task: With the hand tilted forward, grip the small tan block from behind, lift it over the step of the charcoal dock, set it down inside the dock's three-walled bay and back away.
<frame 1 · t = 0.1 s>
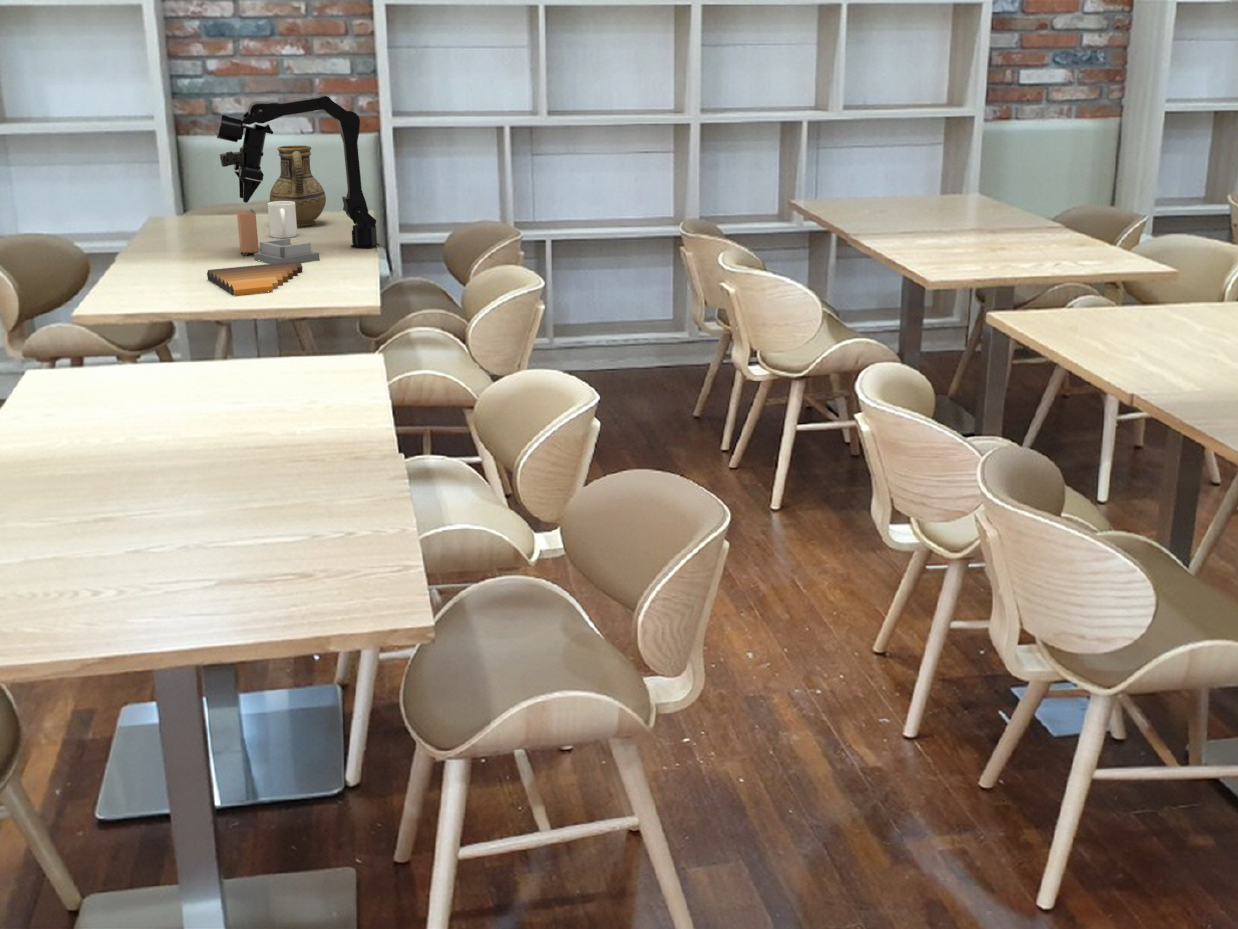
hand: (243, 200, 409), 15 cm above the table, tool pointing down, fingers open, 9 cm apart
pan flute: (268, 285, 374), on the table
dock: (287, 259, 404), on the table
mug: (284, 237, 441), on the table
decorative pitcher: (299, 225, 463), on the table
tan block: (249, 253, 413), on the table
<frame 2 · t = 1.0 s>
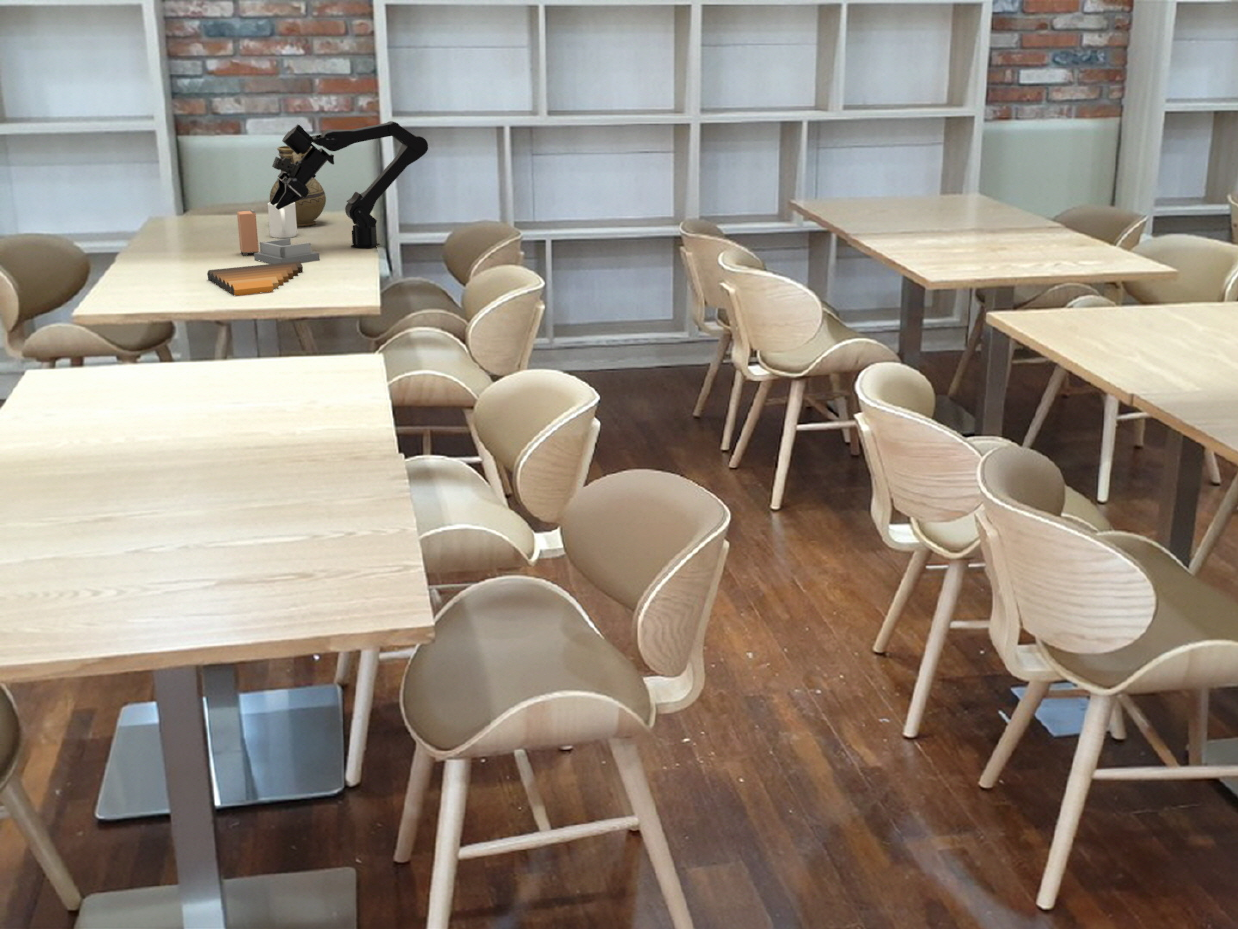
hand: (274, 206, 412), 13 cm above the table, tool tilted 45°, fingers open, 9 cm apart
nothing on the table moved.
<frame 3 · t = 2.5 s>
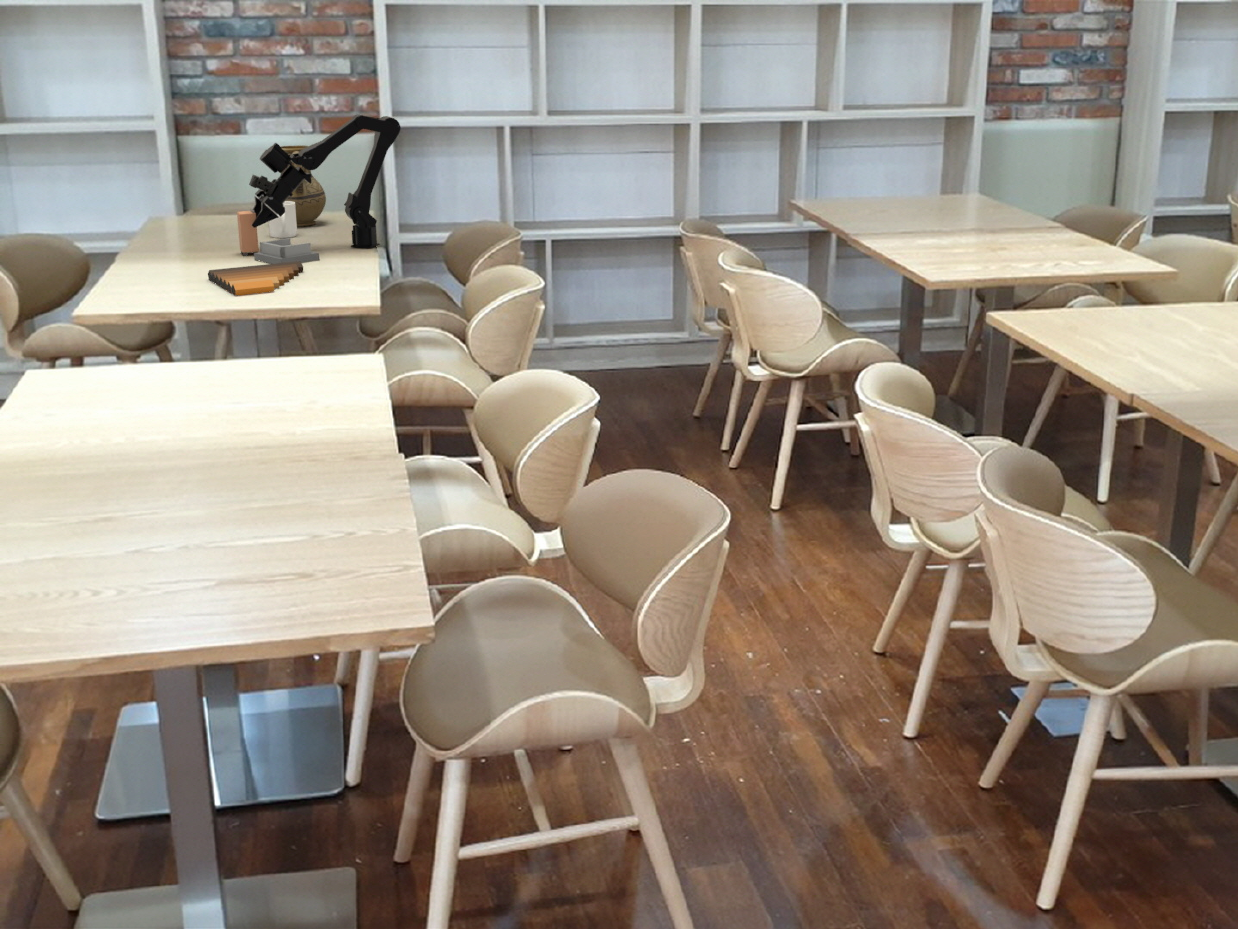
hand: (250, 224, 410), 9 cm above the table, tool tilted 45°, fingers open, 9 cm apart
nothing on the table moved.
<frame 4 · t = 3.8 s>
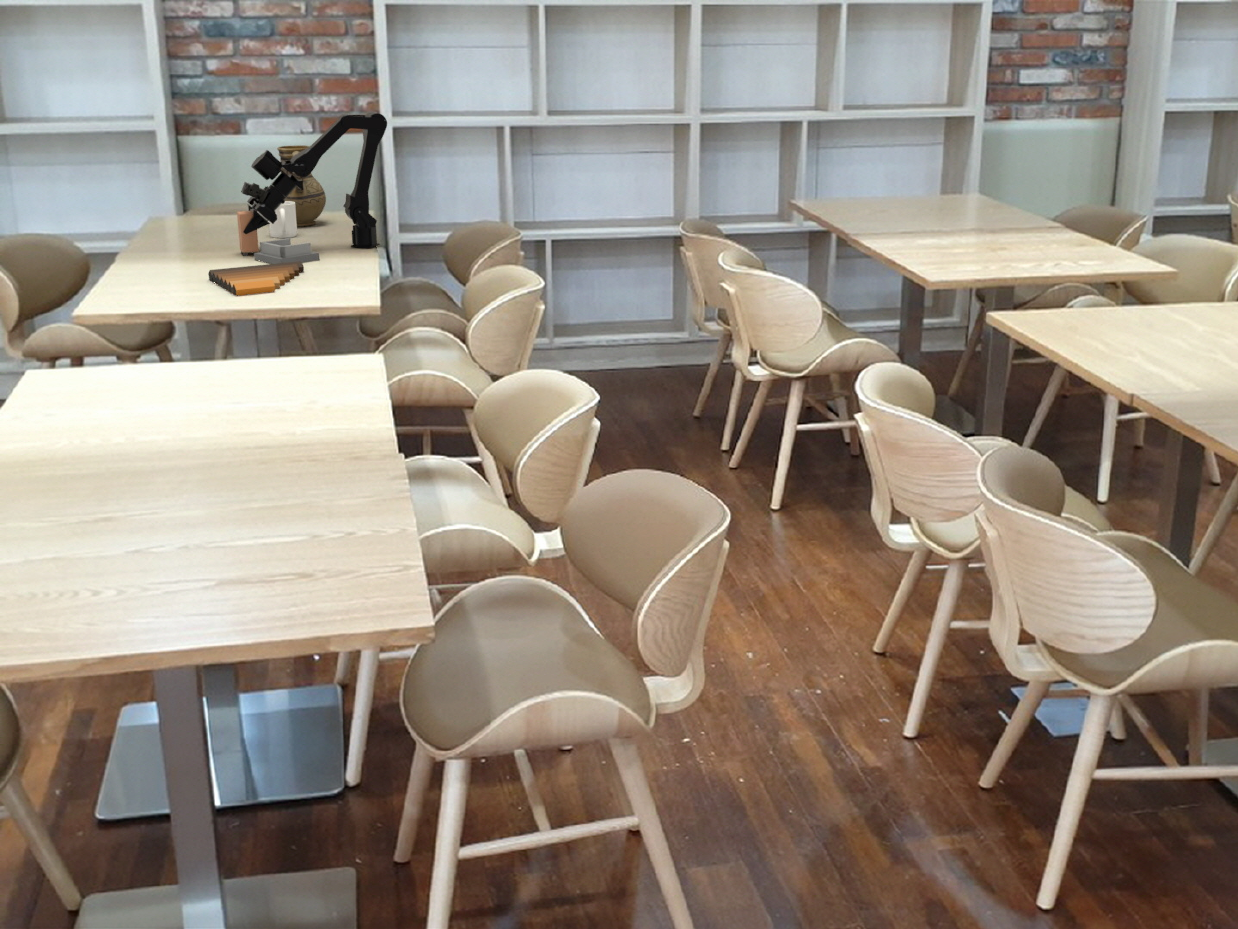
hand: (242, 231, 410), 7 cm above the table, tool tilted 45°, fingers closed on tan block, 5 cm apart
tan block: (249, 253, 413), on the table, touching gripper
everything else where it was.
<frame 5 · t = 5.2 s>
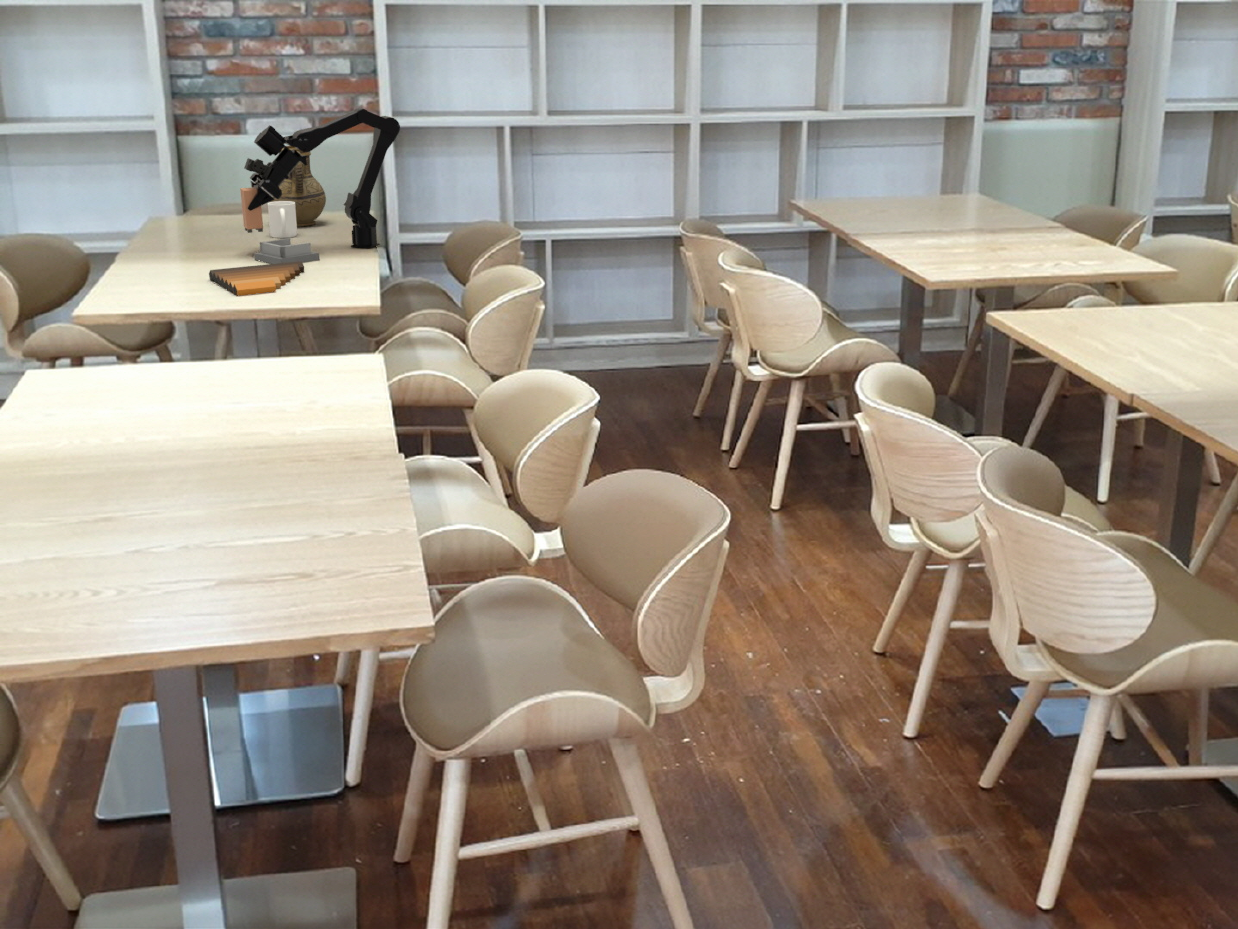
hand: (246, 208, 407), 13 cm above the table, tool tilted 45°, fingers closed on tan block, 5 cm apart
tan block: (253, 230, 410), point 7 cm above the table, touching gripper
everything else where it was.
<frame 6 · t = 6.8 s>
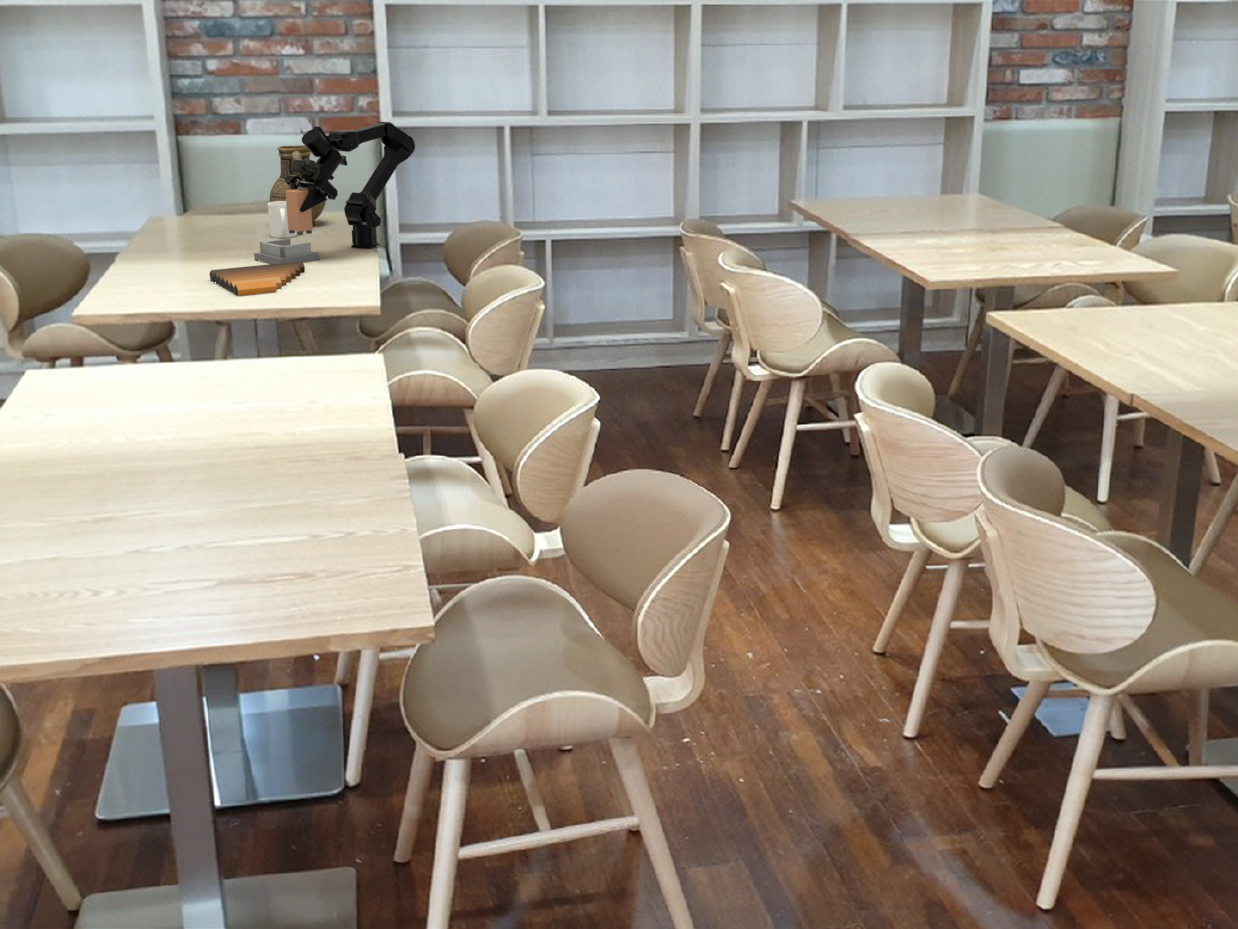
hand: (294, 210, 402), 14 cm above the table, tool tilted 45°, fingers closed on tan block, 5 cm apart
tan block: (300, 233, 405), point 7 cm above the table, touching gripper
everything else where it was.
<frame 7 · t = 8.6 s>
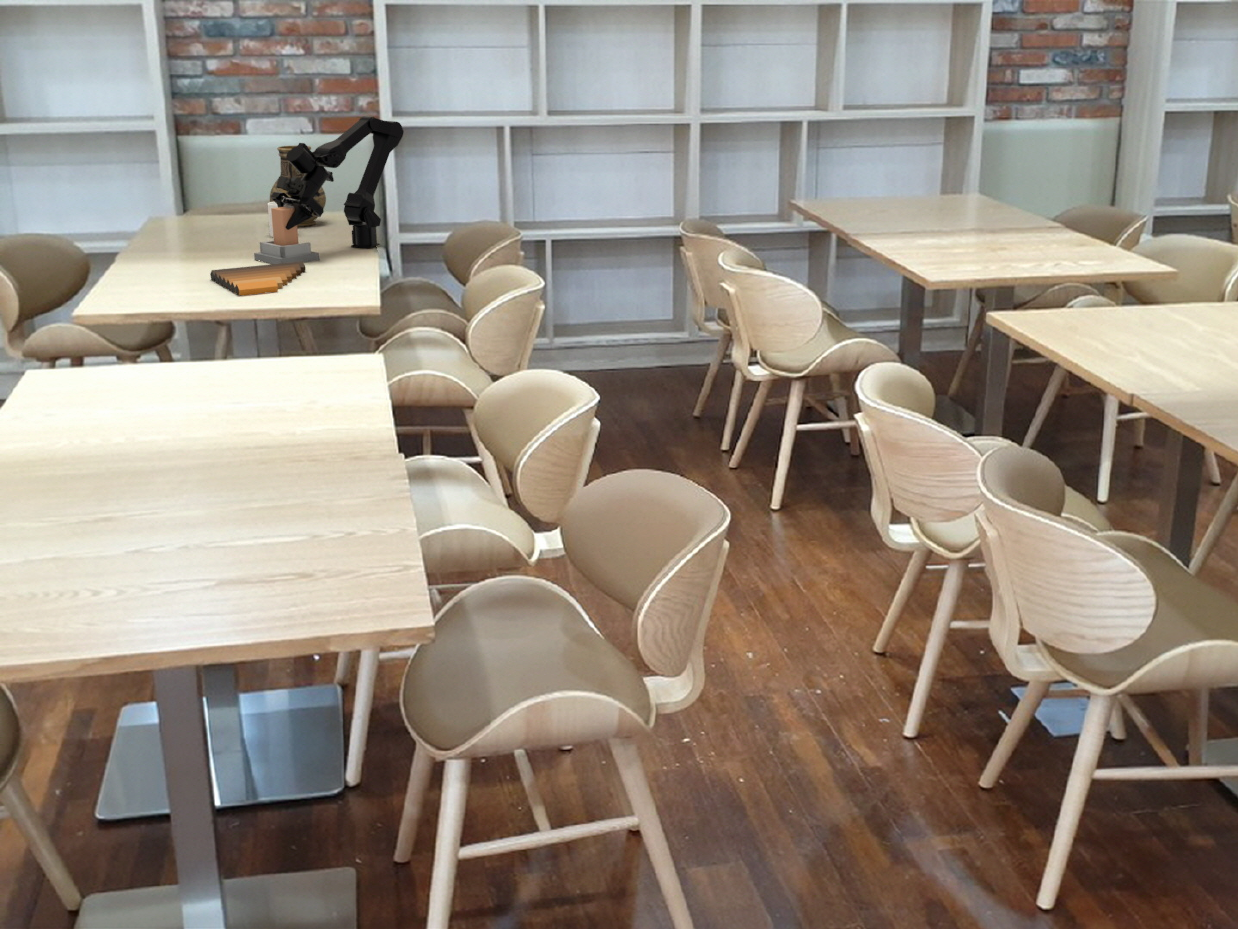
hand: (280, 227, 400), 9 cm above the table, tool tilted 45°, fingers closed on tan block, 5 cm apart
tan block: (286, 250, 403), point 3 cm above the table, touching gripper
when the fingers open (9 cm above the table, at t = 8.7 s): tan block stays where it is, resting on dock.
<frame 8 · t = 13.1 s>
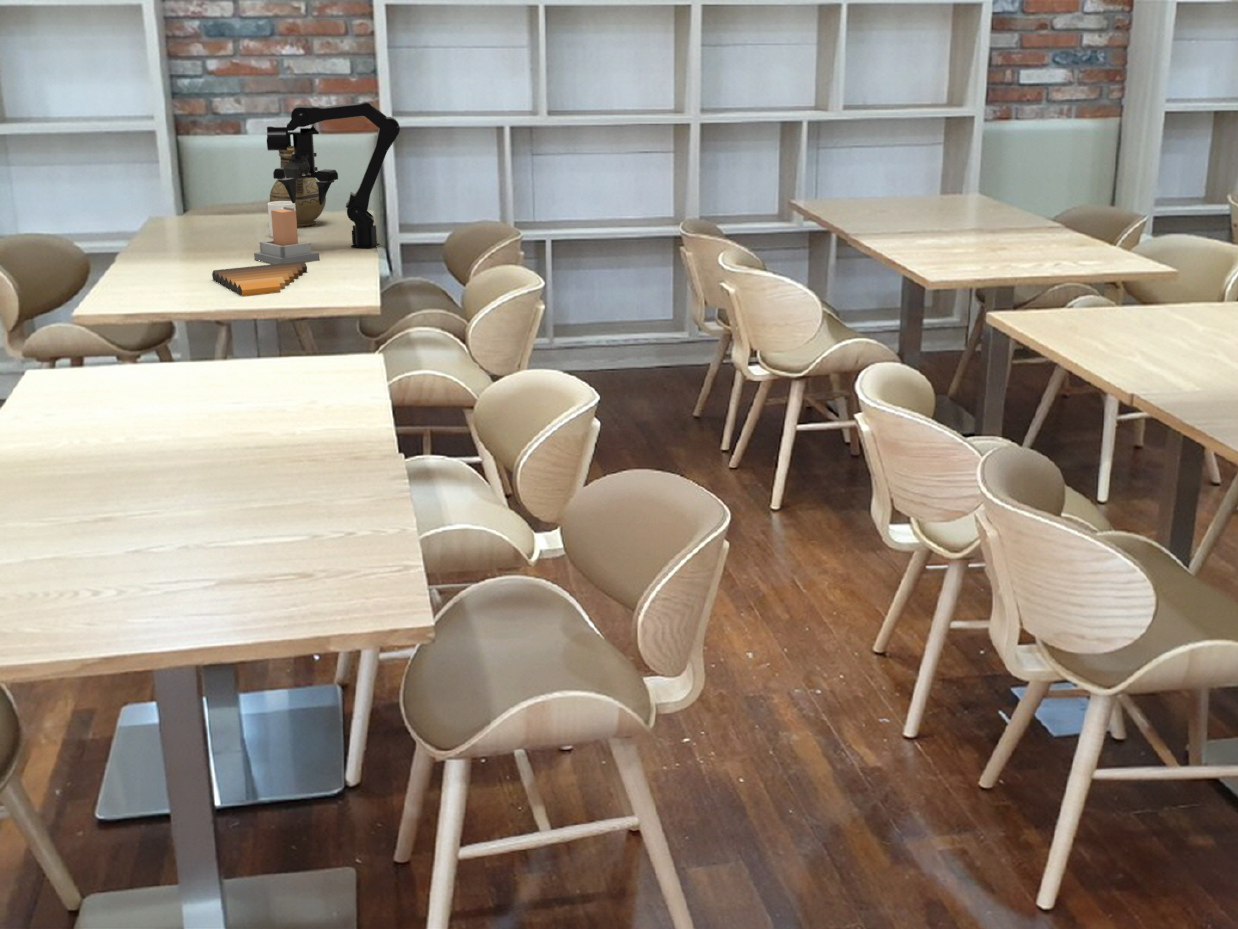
hand: (307, 203, 418), 13 cm above the table, tool pointing down, fingers open, 9 cm apart
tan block: (286, 252, 403), point 2 cm above the table, touching dock
at the end: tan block 0.0 cm off-centre on the dock, point 2.0 cm above the dock's base; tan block tilted 0°; the gripper is holding nothing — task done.
